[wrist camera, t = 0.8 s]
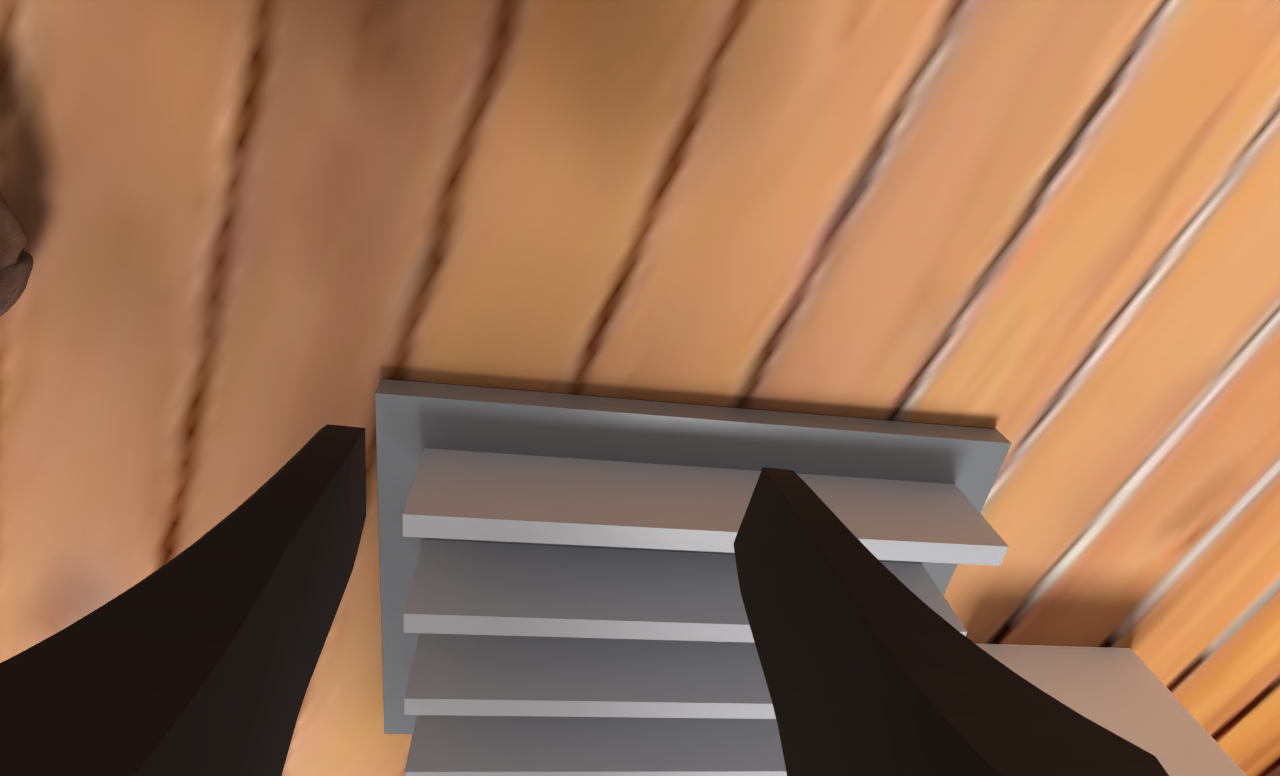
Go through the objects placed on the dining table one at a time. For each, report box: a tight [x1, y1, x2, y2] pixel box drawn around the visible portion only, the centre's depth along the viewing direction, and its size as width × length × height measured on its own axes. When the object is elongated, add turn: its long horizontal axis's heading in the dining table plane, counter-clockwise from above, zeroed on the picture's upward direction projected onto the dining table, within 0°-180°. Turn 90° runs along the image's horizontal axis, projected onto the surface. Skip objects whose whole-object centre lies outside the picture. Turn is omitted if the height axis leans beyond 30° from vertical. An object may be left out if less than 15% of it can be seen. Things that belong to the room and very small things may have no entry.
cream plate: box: [975, 643, 1247, 776], centre depth 29 cm, size 2×9×8 cm, turn 82°
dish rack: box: [375, 379, 1011, 776], centre depth 26 cm, size 16×22×4 cm
